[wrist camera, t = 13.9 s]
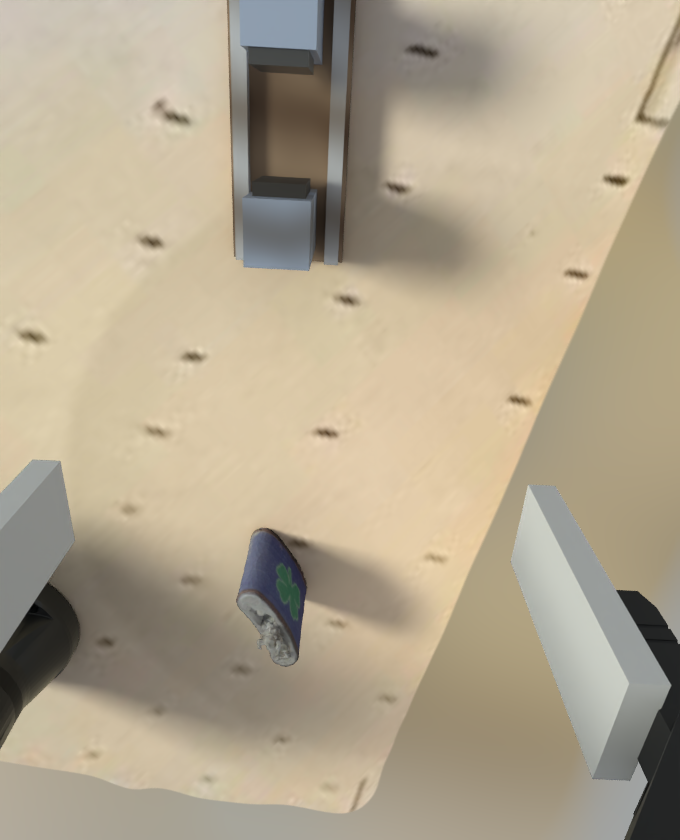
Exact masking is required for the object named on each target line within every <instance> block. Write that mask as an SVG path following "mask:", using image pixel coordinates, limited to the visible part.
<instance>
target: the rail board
mask: <svg viewBox="0 0 680 840" xmlns="http://www.w3.org/2000/svg"><path fill="white" fill-rule="evenodd" d="M355 6H356V0H324V27H323V58H322V65H317V64H314V73H313V75H302V74H285V73H268V72H260V71H259V70H257V69H256V68H254V67H253V66H251V65H249V52H248V51H247V50H245V49H244V48H243V47H242V46H240V10H239V0H227V14H228V51H229V88H230V125H231V162H232V199H233V236H234V257H236V260H244V267H250V268H268V269H287V270H305V271H309V269H310V265H311V262H312V261H323V262H324V264H326V265H338V262H341V263H342V252H343V233H344V214H345V195H346V176H347V157H348V138H349V119H350V100H351V81H352V62H353V43H354V25H355Z"/></svg>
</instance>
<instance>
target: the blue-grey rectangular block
mask: <svg viewBox="0 0 680 840" xmlns="http://www.w3.org/2000/svg"><path fill="white" fill-rule="evenodd" d="M239 10H240V46H242V47H243V48H244V49H245V50H247V51H248V52H249V65H251V66H253V67H254V68H256V69H257V70H259V71H260V72H268V73H285V74H302V75H313V73H314V64H317V65H322V58H323V27H324V0H239Z"/></svg>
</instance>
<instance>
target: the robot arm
mask: <svg viewBox="0 0 680 840" xmlns="http://www.w3.org/2000/svg"><path fill="white" fill-rule="evenodd" d="M74 541H75V538H74V533H73V527H72V522H71V517H70V511H69V506H68V500H67V495H66V489H65V484H64V478H63V473H62V467H61V462H60V461H50V460H32V461H31V462H30V463H29V464H28V465H27V466H26V467H25V468H24V469H23V470H22V471H21V472H20V473H19V475H18V476H17V477H16V478H15V479H14V480H13V481H12V482H11V483H10V484H9V485H8V486H7V487H6V488H5V489H4V490H3V491H2V492H1V493H0V749H1V747H2V745H3V744H4V742H5V740H6V738H7V736H8V735H9V733H10V731H11V729H12V727H13V725H14V723H15V722H16V720H17V718H18V716H19V715H20V713H21V711H22V710H23V708H24V707H25V706H26V705H27V704H28V703H30V702H31V701H32V700H33V699H34V698H35V697H36V696H37V695H38V694H39V693H40V692H41V691H42V690H43V689H44V688H45V687H46V686H47V685H48V684H49V683H50V682H51V681H52V680H53V679H54V678H56V677H57V676H58V675H59V674H60V673H61V672H62V671H63V670H64V668H65V667H66V666H67V664H68V662H69V661H70V659H71V657H72V655H73V653H74V651H75V649H76V647H77V645H78V641H79V635H80V630H79V624H78V620H77V617H76V615H75V613H74V611H73V609H72V608H71V606H70V605H69V603H68V602H67V601H66V600H65V598H64V597H63V596H62V595H61V594H60V593H59V592H57V591H56V590H55V589H54V588H53V587H51V586H50V585H48V584H47V582H48V580H49V579H50V577H51V576H52V574H53V573H54V571H55V570H56V568H57V567H58V565H59V564H60V562H61V561H62V559H63V558H64V556H65V555H66V553H67V552H68V550H69V549H70V547H71V546H72V544H73V543H74ZM511 564H512V566H513V569H514V572H515V574H516V577H517V580H518V582H519V585H520V588H521V590H522V593H523V596H524V598H525V601H526V604H527V606H528V609H529V612H530V614H531V617H532V620H533V622H534V625H535V628H536V630H537V633H538V636H539V638H540V641H541V644H542V646H543V649H544V651H545V654H546V657H547V659H548V662H549V664H550V667H551V670H552V673H553V675H554V678H555V681H556V683H557V686H558V689H559V691H560V694H561V697H562V699H563V702H564V704H565V707H566V710H567V713H568V715H569V718H570V721H571V723H572V726H573V729H574V731H575V734H576V736H577V739H578V741H579V744H580V747H581V750H582V752H583V755H584V758H585V760H586V763H587V766H588V768H589V771H590V774H591V776H592V779H606V780H629V781H630V780H631V778H632V775H633V773H634V771H635V768H636V766H637V764H638V761H639V763H640V765H641V768H642V770H643V772H644V774H645V776H646V778H647V781H648V783H647V785H646V787H645V790H644V792H643V794H642V796H641V798H640V800H639V803H638V805H637V807H636V809H635V811H634V817H633V819H632V822H631V824H630V826H629V829H628V832H627V834H626V836H625V839H624V840H680V644H678V643H677V639H676V637H675V636H674V634H673V633H672V631H671V629H668V625H667V623H666V622H665V620H664V619H663V617H662V616H661V614H660V612H659V611H658V609H657V608H656V607H655V606H654V605H653V604H651V602H649V601H648V600H647V599H646V598H645V597H643V596H642V595H641V594H640V593H639V592H638V591H623V590H616V589H615V588H614V586H613V584H612V583H611V581H610V579H609V578H608V576H607V574H606V572H605V571H604V569H603V567H602V566H601V564H600V562H599V560H598V558H597V557H596V555H595V553H594V552H593V550H592V548H591V546H590V545H589V543H588V541H587V540H586V538H585V536H584V534H583V533H582V531H581V529H580V527H579V526H578V524H577V522H576V521H575V519H574V517H573V516H572V514H571V512H570V510H569V509H568V507H567V505H566V503H565V502H564V500H563V498H562V497H561V495H560V493H559V491H558V490H557V488H556V486H544V485H528V488H527V493H526V497H525V502H524V506H523V510H522V515H521V519H520V524H519V528H518V533H517V537H516V542H515V545H514V551H513V554H512V559H511Z"/></svg>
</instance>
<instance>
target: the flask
mask: <svg viewBox="0 0 680 840" xmlns="http://www.w3.org/2000/svg"><path fill="white" fill-rule="evenodd" d="M260 529H261V530H259V529H258V530H256V531H254V532H253V534H252V536H251V541H250V545H249V551H248V556H247V561H246V564H245V568H244V574H243V578H242V581H241V585H240V589H239V593H238V596H237V599H236V602H237V605H238V607H239V609H240V610H241V611H242V612H243V613H244V614H245V615H246V616H247V617H248V618H249V619H250V620H251V622H252V623H253V625H255V627H256V628H257V630H258V631H259V633H260V634H261V638H262V639H258V641H257V644H258V649H261V645H266V647H267V649H268V650H269V652H270V656H271V658H272V660H273V661H274V662H275V663H276V664H280V665H281V666H285V667H287V666H290V665H293V664H294V663H295V662H296V661H297V660H298V657H299V646H300V637H301V625H302V618H303V613H304V601H305V595H306V590H307V586H306V580H305V578H304V575H303V572H302V571H301V567H300V565H299V564H298V563H297V560H296V559H295V558H294V557H293V556H292V553H291V552H290V551H289V550H288V548H287V546H285V544H284V542H283V541H282V540H281V539H280V538H279V536H278V535H276V534H275V533H274V532H273V531H272V530H269V529H268V528H260Z"/></svg>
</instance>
